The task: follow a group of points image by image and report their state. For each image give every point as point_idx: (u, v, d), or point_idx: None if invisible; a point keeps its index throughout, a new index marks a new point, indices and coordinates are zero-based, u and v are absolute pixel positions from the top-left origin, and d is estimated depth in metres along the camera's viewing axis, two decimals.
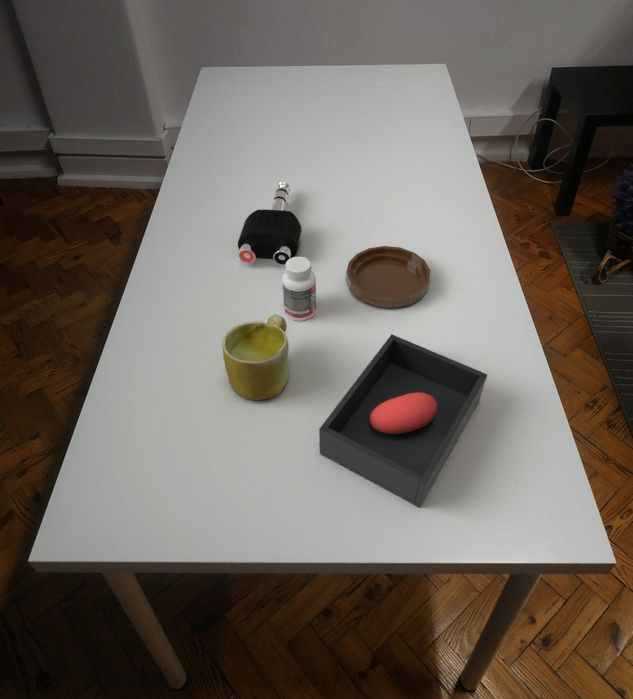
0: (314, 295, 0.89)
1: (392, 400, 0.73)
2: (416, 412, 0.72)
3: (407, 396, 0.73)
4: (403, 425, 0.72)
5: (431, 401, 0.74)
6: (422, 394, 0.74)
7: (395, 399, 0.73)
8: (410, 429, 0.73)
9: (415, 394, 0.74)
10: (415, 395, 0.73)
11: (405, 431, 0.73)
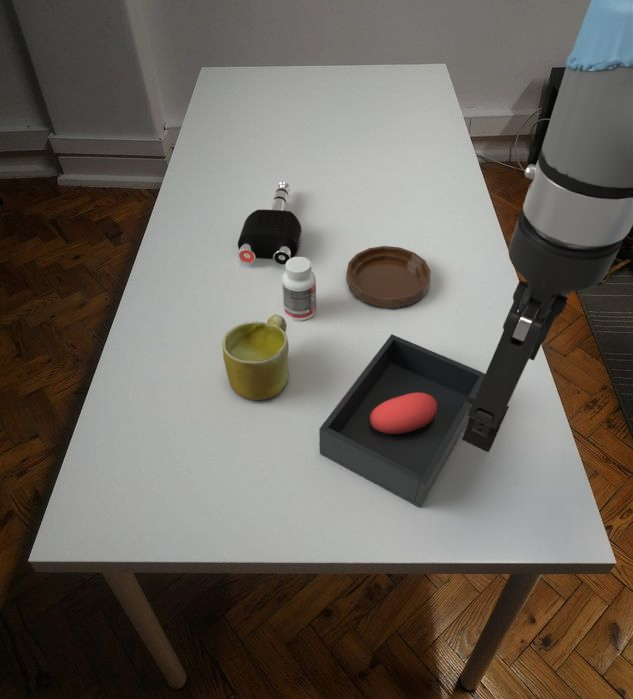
0: (314, 295, 0.89)
1: (392, 400, 0.73)
2: (416, 412, 0.72)
3: (406, 396, 0.73)
4: (403, 425, 0.72)
5: (431, 401, 0.74)
6: (422, 394, 0.74)
7: (395, 399, 0.73)
8: (410, 429, 0.73)
9: (415, 394, 0.74)
10: (415, 395, 0.73)
11: (405, 431, 0.73)
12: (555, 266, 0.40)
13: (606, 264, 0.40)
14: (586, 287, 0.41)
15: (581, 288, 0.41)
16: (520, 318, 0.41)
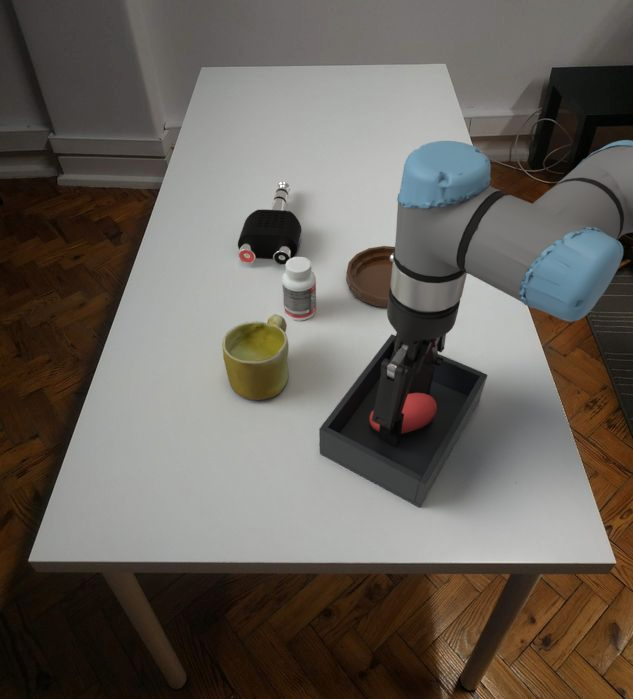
0: (314, 295, 0.89)
1: None
2: (415, 413, 0.72)
3: None
4: (402, 425, 0.72)
5: (430, 401, 0.74)
6: (422, 394, 0.74)
7: None
8: (410, 429, 0.72)
9: (415, 394, 0.74)
10: (414, 395, 0.73)
11: (404, 432, 0.73)
12: (411, 324, 0.58)
13: (446, 322, 0.58)
14: (436, 337, 0.59)
15: (432, 338, 0.59)
16: (388, 366, 0.59)
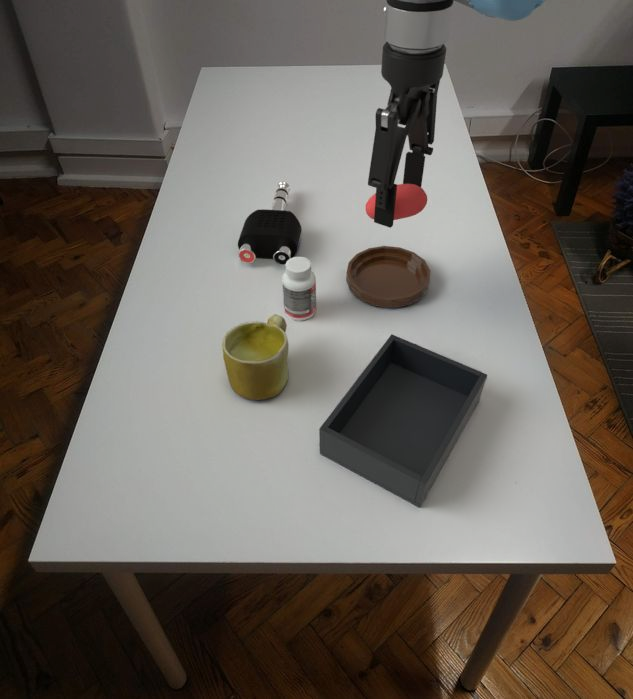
0: (314, 295, 0.89)
1: None
2: (407, 195, 0.79)
3: (399, 184, 0.80)
4: (395, 207, 0.79)
5: (421, 189, 0.81)
6: (413, 184, 0.81)
7: None
8: (402, 212, 0.79)
9: None
10: None
11: (397, 215, 0.80)
12: (402, 67, 0.65)
13: (434, 66, 0.65)
14: (424, 83, 0.66)
15: (421, 84, 0.66)
16: (382, 112, 0.66)
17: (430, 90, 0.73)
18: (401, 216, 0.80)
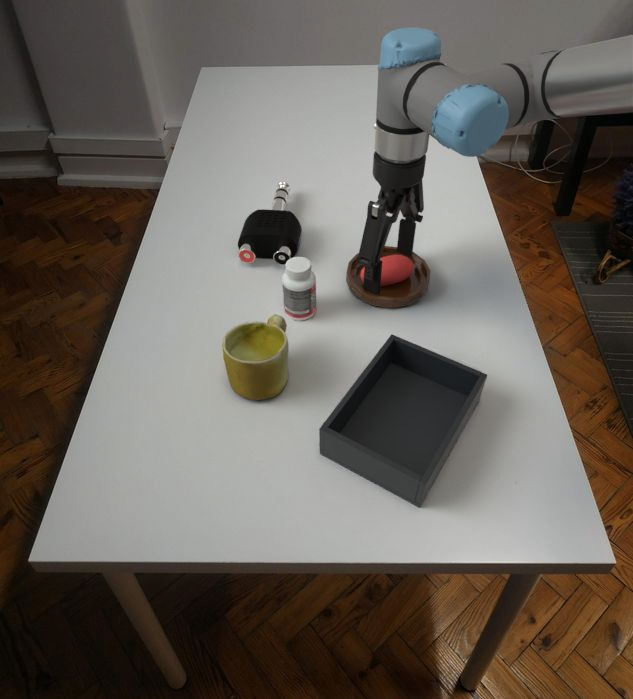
0: (314, 295, 0.89)
1: None
2: (396, 266, 0.92)
3: None
4: (385, 276, 0.93)
5: (408, 260, 0.94)
6: (401, 255, 0.95)
7: (380, 258, 0.94)
8: (391, 280, 0.93)
9: (396, 255, 0.94)
10: (395, 255, 0.94)
11: (387, 282, 0.94)
12: (389, 173, 0.78)
13: (415, 172, 0.78)
14: (408, 185, 0.80)
15: (405, 186, 0.79)
16: (373, 204, 0.80)
17: None
18: (391, 283, 0.94)
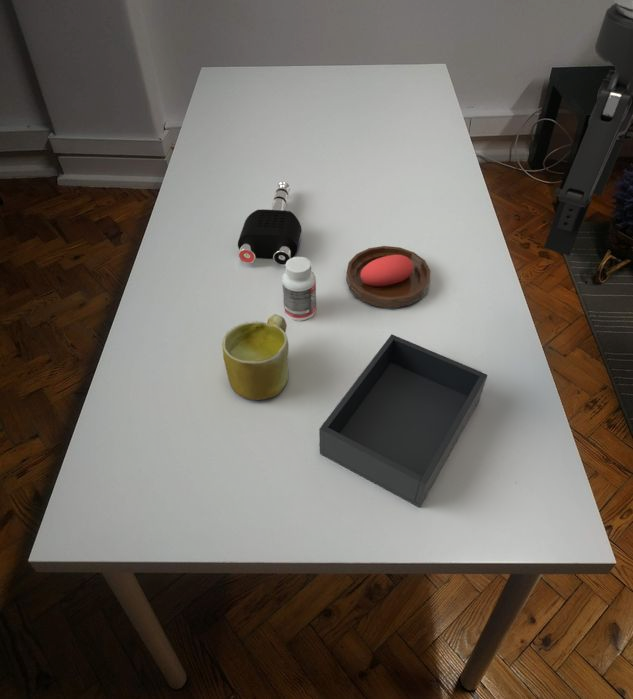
0: (314, 295, 0.89)
1: (378, 258, 0.94)
2: (396, 266, 0.92)
3: None
4: (385, 276, 0.93)
5: (408, 260, 0.94)
6: (401, 255, 0.95)
7: (380, 258, 0.94)
8: (391, 280, 0.93)
9: (396, 255, 0.94)
10: (395, 255, 0.94)
11: (387, 282, 0.94)
12: None
13: None
14: None
15: None
16: (611, 92, 0.48)
17: None
18: (391, 283, 0.94)
